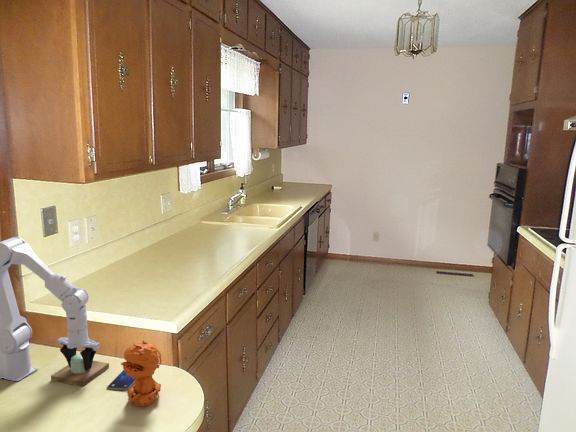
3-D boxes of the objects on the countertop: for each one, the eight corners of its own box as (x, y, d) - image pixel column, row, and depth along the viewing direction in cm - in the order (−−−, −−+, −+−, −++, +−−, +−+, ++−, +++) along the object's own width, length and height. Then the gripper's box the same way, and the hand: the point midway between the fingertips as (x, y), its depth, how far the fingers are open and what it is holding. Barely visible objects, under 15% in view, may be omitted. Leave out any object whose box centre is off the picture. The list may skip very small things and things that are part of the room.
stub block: (51, 380, 138) (50, 367, 138) (79, 362, 150) (78, 349, 149) (82, 386, 135) (81, 372, 134) (109, 367, 146) (108, 354, 146)
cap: (76, 375, 139) (75, 362, 138) (68, 370, 142) (67, 357, 141) (92, 368, 143) (91, 356, 142) (84, 364, 146) (83, 352, 145)
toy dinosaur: (122, 394, 131) (118, 337, 128) (160, 386, 135) (157, 331, 132) (124, 415, 121) (120, 353, 118) (165, 406, 125) (162, 346, 122)
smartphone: (104, 388, 133) (128, 363, 148) (105, 391, 134) (128, 366, 148) (127, 389, 132) (149, 364, 147) (128, 392, 133) (149, 367, 147)
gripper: (48, 330, 138) (52, 370, 140) (87, 335, 134) (90, 377, 136) (65, 321, 145) (69, 360, 147) (103, 326, 141) (106, 366, 143)
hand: (80, 367), depth 142 cm, fingers closed on cap, 5 cm apart
